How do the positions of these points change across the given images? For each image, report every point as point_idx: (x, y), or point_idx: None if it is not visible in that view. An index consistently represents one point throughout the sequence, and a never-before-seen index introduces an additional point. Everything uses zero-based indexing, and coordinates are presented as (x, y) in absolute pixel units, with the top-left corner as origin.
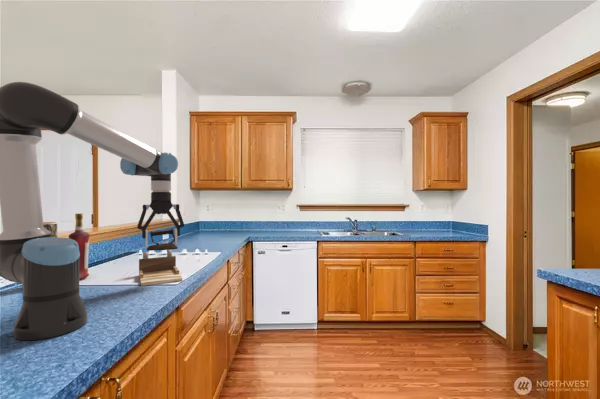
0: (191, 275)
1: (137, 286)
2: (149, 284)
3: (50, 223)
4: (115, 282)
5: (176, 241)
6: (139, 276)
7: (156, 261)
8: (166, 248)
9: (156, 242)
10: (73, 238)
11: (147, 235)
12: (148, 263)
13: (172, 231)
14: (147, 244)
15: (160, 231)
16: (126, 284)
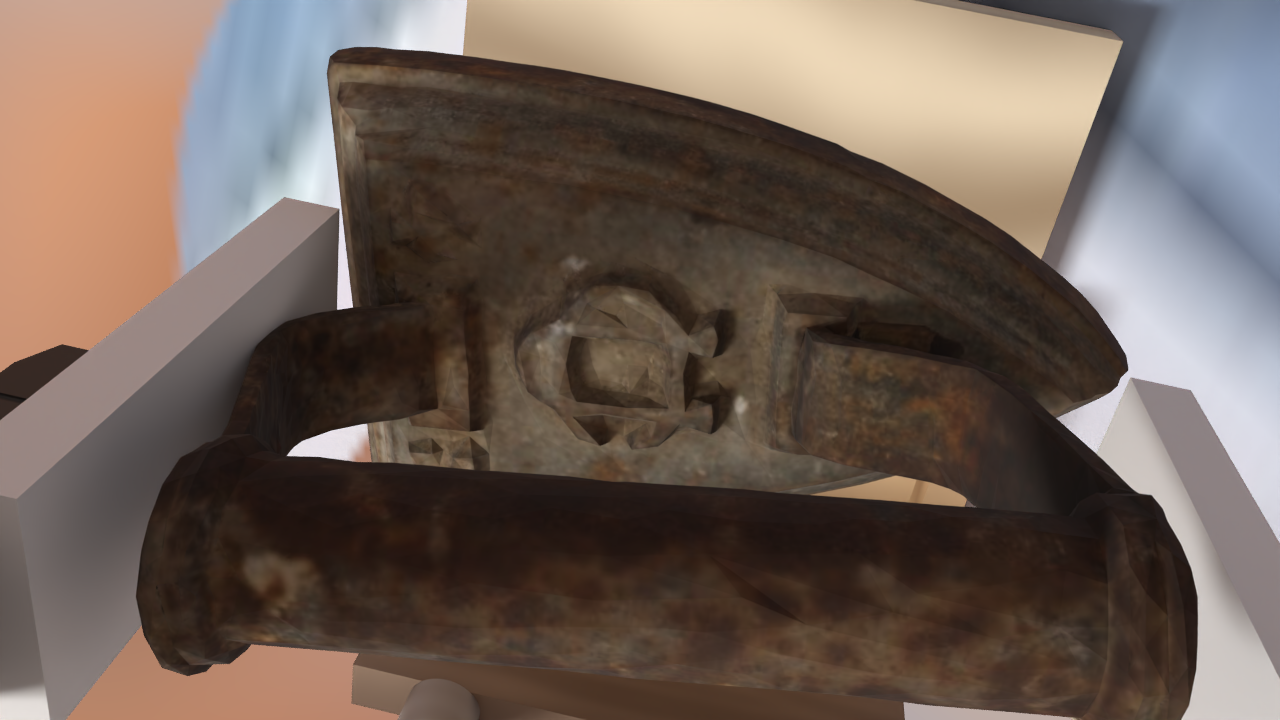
0: (290, 156)
1: (1161, 55)
2: (990, 9)
3: None
4: (1273, 500)
5: (263, 239)
6: None
7: (657, 691)
8: (647, 102)
9: (848, 463)
10: None
11: (1265, 620)
12: (774, 704)
13: (209, 461)
14: (1161, 413)
15: (733, 591)
16: (1221, 292)
